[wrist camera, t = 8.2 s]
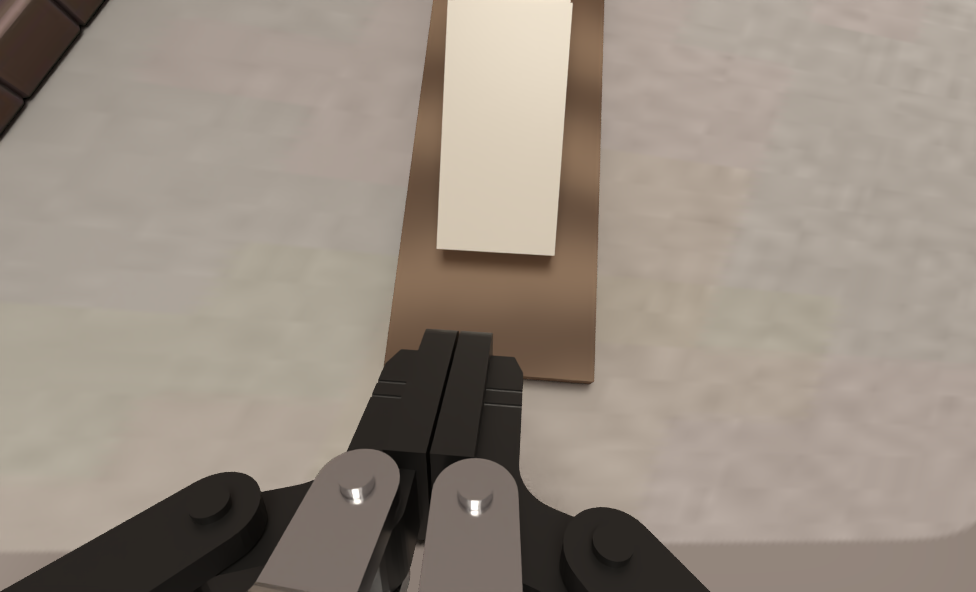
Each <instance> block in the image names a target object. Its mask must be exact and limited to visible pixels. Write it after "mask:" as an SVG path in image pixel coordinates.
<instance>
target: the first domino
mask: <svg viewBox="0 0 976 592" xmlns="http://www.w3.org/2000/svg"><path fill="white" fill-rule="evenodd" d="M572 6H573V3H560V2H516V1H471V0H448V6H447V28H446V50H445V72H444V94H443V116H442V138H441V160H440V182H439V204H438V227H437V249H449V250H466V251H482V252H499V253H516V254H533V255H550V256H554V255H555V241H556V227H557V213H558V200H559V186H560V172H561V158H562V144H563V131H564V117H565V103H566V89H567V75H568V61H569V48H570V34H571V20H572Z"/></svg>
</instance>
